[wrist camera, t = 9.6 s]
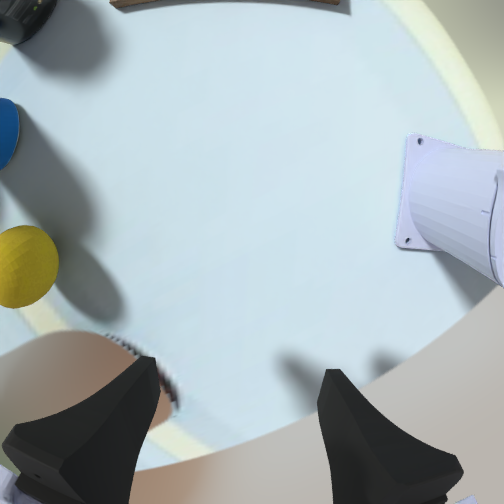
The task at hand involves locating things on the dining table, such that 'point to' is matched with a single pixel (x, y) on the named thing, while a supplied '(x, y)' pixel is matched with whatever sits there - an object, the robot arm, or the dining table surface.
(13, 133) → the beverage can
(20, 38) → the supplement bottle
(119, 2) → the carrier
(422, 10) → the dining table surface
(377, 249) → the dining table surface
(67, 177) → the dining table surface
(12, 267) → the lemon
